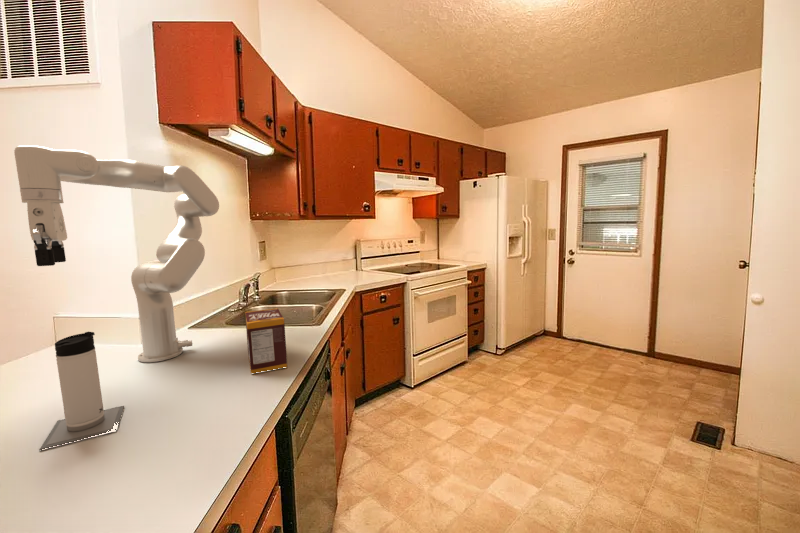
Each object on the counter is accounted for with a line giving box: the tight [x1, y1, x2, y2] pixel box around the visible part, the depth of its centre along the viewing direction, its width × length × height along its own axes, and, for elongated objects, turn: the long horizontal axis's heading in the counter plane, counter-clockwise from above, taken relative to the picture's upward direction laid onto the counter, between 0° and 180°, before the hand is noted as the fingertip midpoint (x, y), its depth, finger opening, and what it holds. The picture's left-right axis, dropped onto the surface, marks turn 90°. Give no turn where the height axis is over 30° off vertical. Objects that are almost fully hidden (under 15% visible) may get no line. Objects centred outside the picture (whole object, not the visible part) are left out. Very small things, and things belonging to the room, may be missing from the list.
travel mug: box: [54, 331, 105, 432], centre depth 77 cm, size 6×7×20 cm
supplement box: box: [244, 308, 288, 374], centre depth 111 cm, size 10×15×16 cm
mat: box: [39, 405, 125, 451], centre depth 78 cm, size 12×12×1 cm
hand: (52, 263), depth 92 cm, fingers open, 9 cm apart
